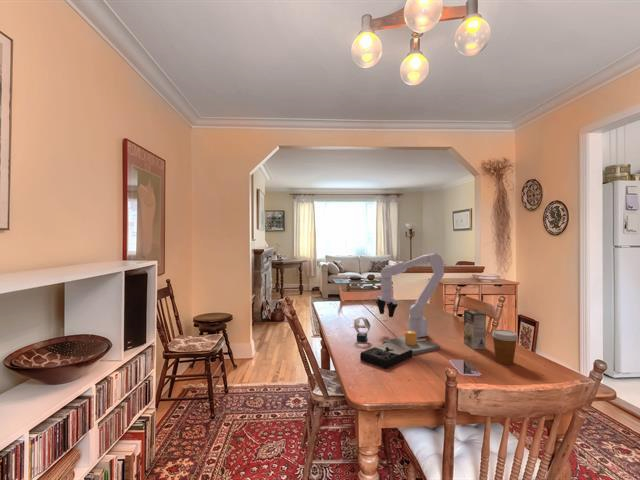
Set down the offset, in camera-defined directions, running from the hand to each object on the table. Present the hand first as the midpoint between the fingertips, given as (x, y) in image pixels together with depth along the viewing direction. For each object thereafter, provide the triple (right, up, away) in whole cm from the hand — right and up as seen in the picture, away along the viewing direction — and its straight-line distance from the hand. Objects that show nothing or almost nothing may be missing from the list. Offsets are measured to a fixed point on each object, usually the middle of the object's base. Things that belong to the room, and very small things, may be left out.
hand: (386, 315), depth 178 cm
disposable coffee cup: (+41, -10, -40) cm, 58 cm away
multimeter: (-7, -11, -37) cm, 39 cm away
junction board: (+7, -10, -21) cm, 24 cm away
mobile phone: (+22, -11, -46) cm, 52 cm away
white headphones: (-14, -10, +11) cm, 20 cm away
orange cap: (+7, -8, -21) cm, 24 cm away
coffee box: (+37, -10, -20) cm, 44 cm away
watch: (-14, -10, -12) cm, 21 cm away
